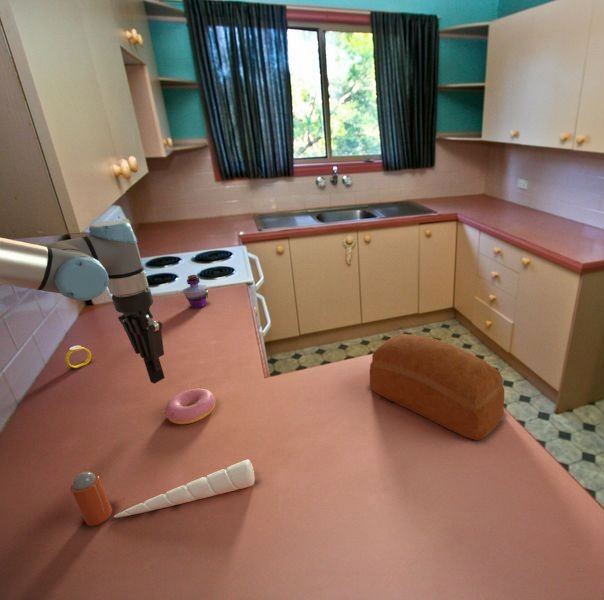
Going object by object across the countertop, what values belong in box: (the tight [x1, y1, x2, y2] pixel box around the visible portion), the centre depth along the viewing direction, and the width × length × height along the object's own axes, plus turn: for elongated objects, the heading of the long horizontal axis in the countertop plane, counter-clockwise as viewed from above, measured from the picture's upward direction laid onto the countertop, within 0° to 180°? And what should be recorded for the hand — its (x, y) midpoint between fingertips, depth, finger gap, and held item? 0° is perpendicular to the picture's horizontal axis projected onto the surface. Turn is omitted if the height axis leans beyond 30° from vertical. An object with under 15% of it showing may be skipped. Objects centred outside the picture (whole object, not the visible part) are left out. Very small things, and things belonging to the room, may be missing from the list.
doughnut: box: [164, 387, 216, 425], centre depth 101 cm, size 11×11×4 cm
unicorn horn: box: [113, 459, 256, 519], centre depth 78 cm, size 5×24×5 cm, turn 106°
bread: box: [369, 333, 505, 441], centre depth 100 cm, size 14×33×16 cm, turn 50°
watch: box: [64, 344, 92, 369], centre depth 121 cm, size 6×3×6 cm, turn 151°
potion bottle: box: [182, 274, 209, 309], centre depth 158 cm, size 9×9×12 cm
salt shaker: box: [70, 471, 113, 527], centre depth 73 cm, size 4×4×10 cm
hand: (157, 379), depth 104 cm, fingers closed
